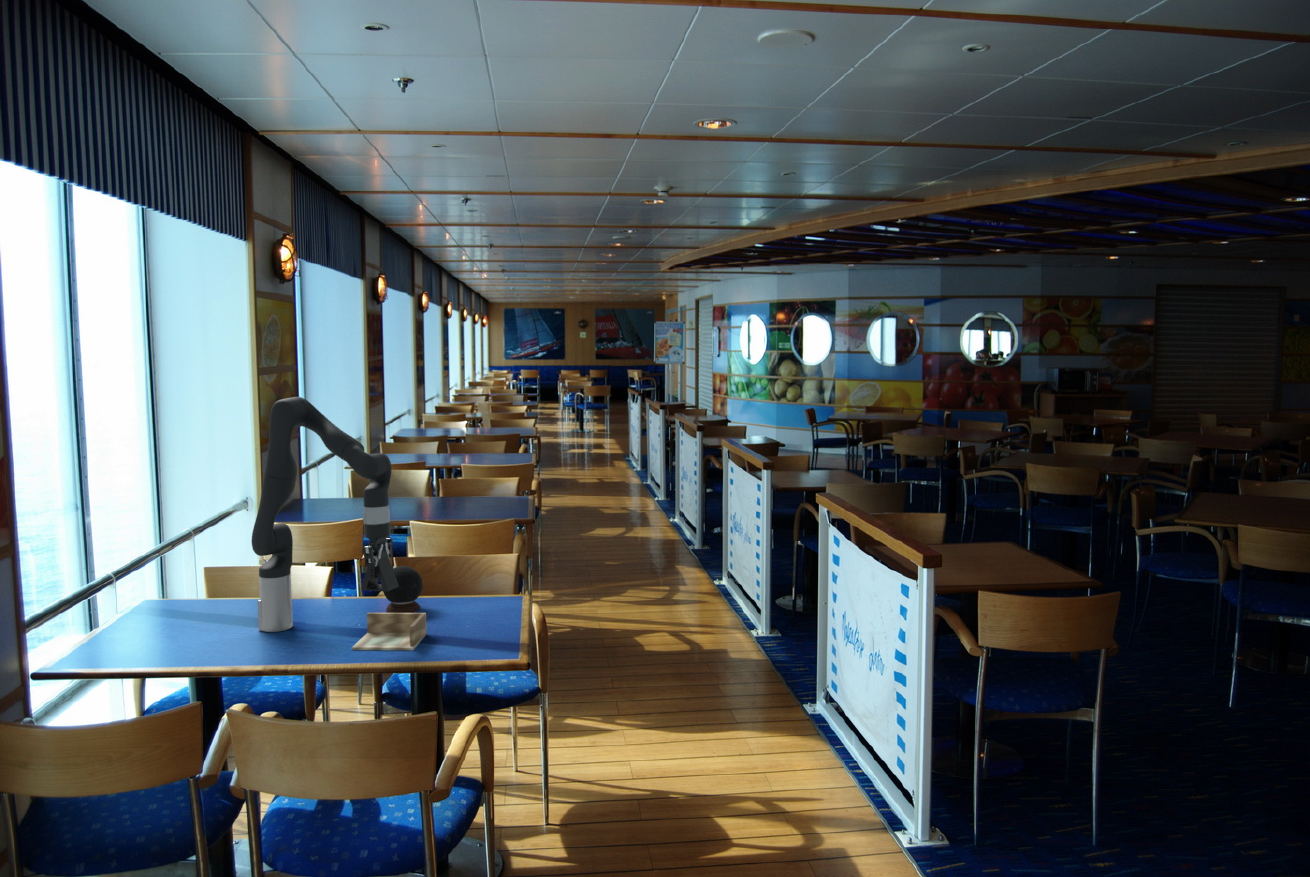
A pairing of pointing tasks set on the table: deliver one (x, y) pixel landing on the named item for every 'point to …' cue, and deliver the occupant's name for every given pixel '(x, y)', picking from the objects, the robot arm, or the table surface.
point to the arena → (393, 631)
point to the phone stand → (381, 576)
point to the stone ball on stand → (404, 591)
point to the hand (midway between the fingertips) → (379, 576)
